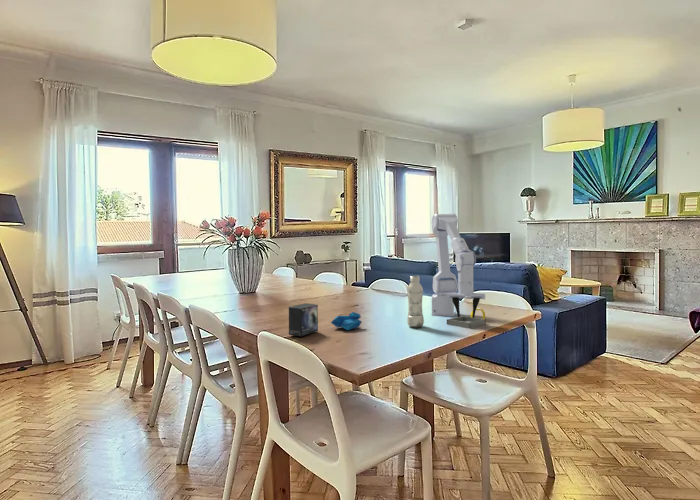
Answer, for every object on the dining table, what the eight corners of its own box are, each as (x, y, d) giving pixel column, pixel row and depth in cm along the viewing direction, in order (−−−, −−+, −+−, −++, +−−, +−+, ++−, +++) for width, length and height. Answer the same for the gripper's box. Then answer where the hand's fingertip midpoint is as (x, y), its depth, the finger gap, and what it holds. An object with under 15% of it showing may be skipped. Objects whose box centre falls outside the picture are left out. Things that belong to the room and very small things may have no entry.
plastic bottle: (425, 325, 172) (424, 275, 172) (422, 329, 166) (421, 277, 165) (409, 325, 174) (408, 275, 174) (405, 328, 168) (404, 276, 167)
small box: (301, 337, 158) (301, 308, 157) (288, 335, 161) (287, 306, 161) (319, 331, 167) (318, 304, 166) (305, 329, 170) (305, 302, 170)
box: (470, 329, 164) (470, 323, 164) (446, 325, 172) (446, 319, 172) (485, 325, 171) (485, 319, 171) (462, 321, 179) (462, 315, 179)
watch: (482, 321, 179) (482, 306, 179) (486, 322, 176) (486, 307, 176) (469, 322, 178) (469, 307, 178) (473, 323, 175) (473, 308, 175)
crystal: (358, 306, 175) (330, 308, 170) (366, 318, 167) (336, 320, 163) (356, 321, 178) (328, 324, 173) (363, 334, 170) (334, 337, 166)
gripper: (445, 283, 169) (446, 318, 170) (484, 283, 165) (485, 319, 165) (447, 281, 176) (448, 314, 176) (485, 281, 171) (485, 316, 172)
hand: (466, 317), depth 171 cm, fingers open, 5 cm apart
